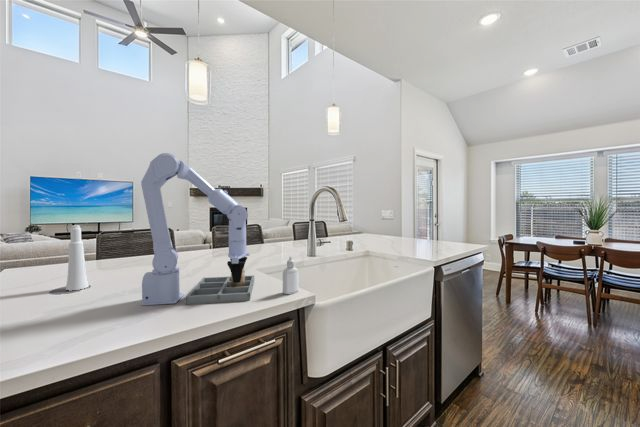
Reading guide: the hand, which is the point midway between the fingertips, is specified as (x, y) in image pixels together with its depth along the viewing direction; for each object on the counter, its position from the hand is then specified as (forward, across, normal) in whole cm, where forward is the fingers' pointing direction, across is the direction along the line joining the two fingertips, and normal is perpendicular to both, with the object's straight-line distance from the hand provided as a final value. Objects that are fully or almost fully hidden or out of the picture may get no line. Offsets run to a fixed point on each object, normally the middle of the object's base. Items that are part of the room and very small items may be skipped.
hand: (237, 280), depth 93 cm
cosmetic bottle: (+4, +12, +55) cm, 57 cm away
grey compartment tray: (+3, 0, +4) cm, 6 cm away
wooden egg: (+2, 0, 0) cm, 2 cm away
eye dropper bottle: (+4, -5, -18) cm, 19 cm away
